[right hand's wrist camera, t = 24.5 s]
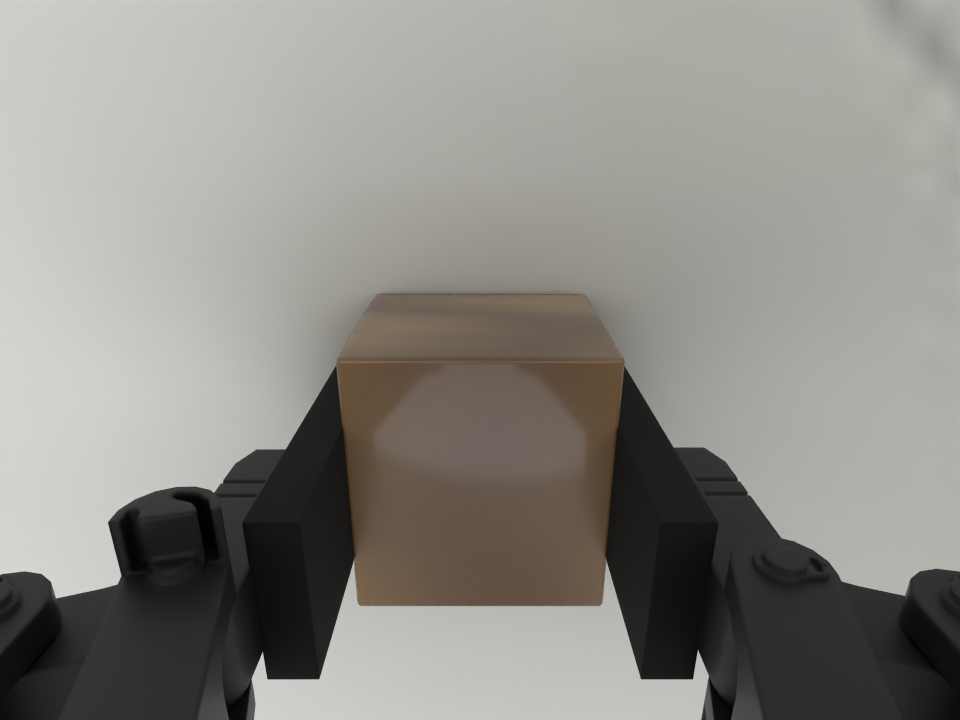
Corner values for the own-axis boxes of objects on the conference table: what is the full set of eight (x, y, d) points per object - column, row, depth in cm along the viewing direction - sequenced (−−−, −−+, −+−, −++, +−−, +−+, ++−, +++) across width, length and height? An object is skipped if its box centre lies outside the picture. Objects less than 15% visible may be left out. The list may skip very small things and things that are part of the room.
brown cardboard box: (387, 489, 16) (356, 607, 12) (374, 293, 14) (334, 358, 10) (572, 489, 16) (603, 608, 12) (585, 293, 14) (626, 358, 10)
